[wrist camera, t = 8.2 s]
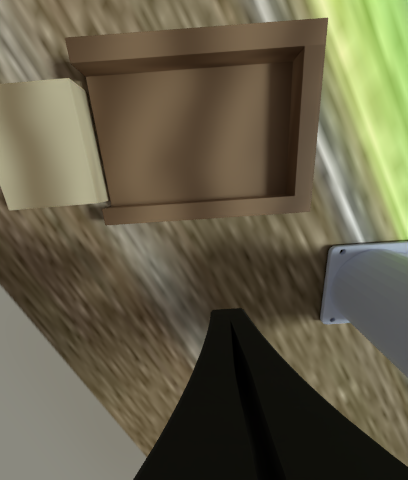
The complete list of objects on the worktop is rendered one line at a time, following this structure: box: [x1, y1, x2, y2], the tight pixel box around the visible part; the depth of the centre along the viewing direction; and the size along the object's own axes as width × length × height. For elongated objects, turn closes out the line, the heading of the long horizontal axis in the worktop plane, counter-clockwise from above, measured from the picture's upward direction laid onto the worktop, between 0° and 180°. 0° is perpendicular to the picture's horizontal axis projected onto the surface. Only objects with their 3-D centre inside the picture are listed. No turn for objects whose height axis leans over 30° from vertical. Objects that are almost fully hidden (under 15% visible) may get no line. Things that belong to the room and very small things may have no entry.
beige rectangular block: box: [0, 78, 110, 210], centre depth 14 cm, size 6×8×2 cm
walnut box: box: [65, 18, 328, 225], centre depth 14 cm, size 15×11×2 cm
